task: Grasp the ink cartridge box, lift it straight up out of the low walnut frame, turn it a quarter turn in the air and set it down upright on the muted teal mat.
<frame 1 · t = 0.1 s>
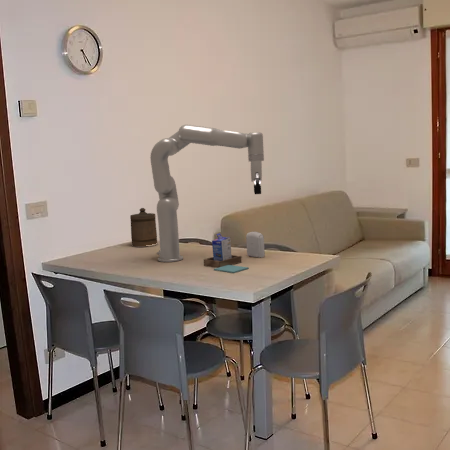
hand: (257, 193, 272), 31 cm above the table, tool pointing down, fingers open, 9 cm apart
photo printer: (255, 256, 276), on the table
teal mat: (231, 269, 248), on the table
ink cartridge box: (222, 264, 261), resting in walnut frame
walnut frame: (222, 264, 261), on the table
wooden container: (144, 245, 327), on the table
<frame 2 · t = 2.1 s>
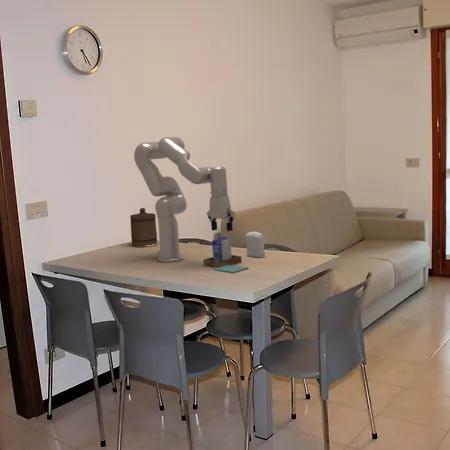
hand: (222, 230, 259), 16 cm above the table, tool pointing down, fingers open, 9 cm apart
nothing on the table moved.
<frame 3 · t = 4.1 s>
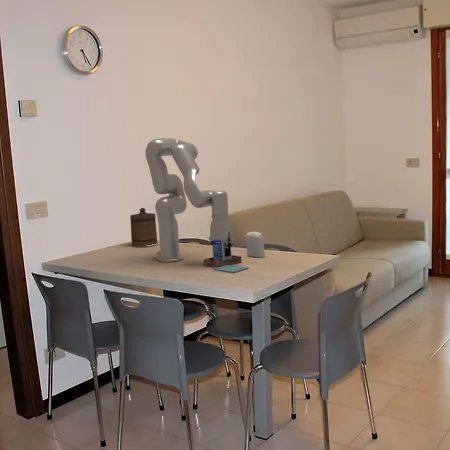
hand: (222, 255, 260), 4 cm above the table, tool pointing down, fingers closed on ink cartridge box, 6 cm apart
ink cartridge box: (222, 264, 261), resting in walnut frame, touching gripper
everything else where it was.
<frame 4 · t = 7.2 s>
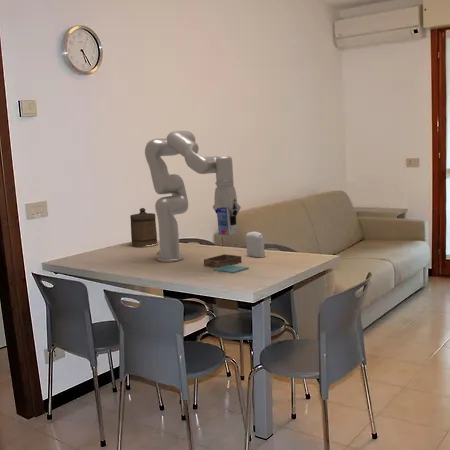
hand: (227, 224, 248), 20 cm above the table, tool pointing down, fingers closed on ink cartridge box, 6 cm apart
ink cartridge box: (227, 233, 249), point 16 cm above the table, touching gripper
everything else where it was.
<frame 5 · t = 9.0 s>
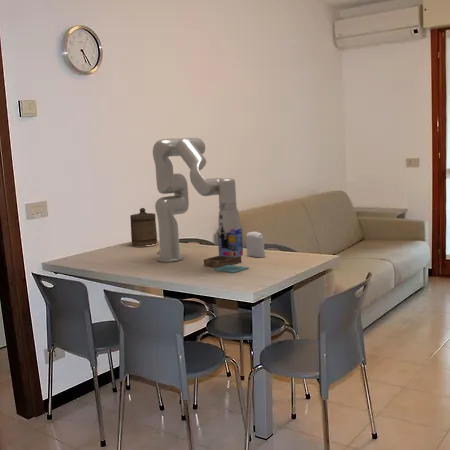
hand: (230, 246, 247), 10 cm above the table, tool pointing down, fingers closed on ink cartridge box, 6 cm apart
ink cartridge box: (230, 256, 247), point 6 cm above the table, touching gripper
everything else where it was.
when the fingers open (6 cm above the table, at t = 10.5 s): ink cartridge box stays where it is, resting on teal mat.
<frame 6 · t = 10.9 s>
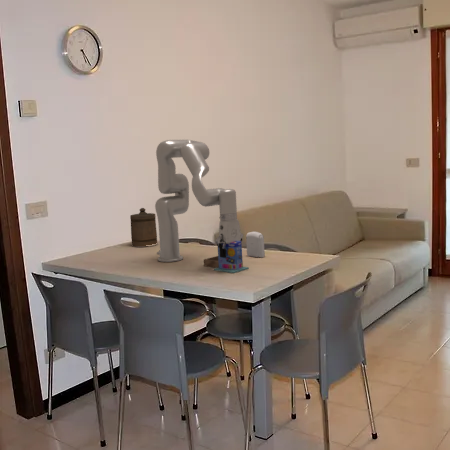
hand: (230, 255, 247), 6 cm above the table, tool pointing down, fingers open, 9 cm apart
ink cartridge box: (230, 268, 248), resting on teal mat
everything else where it was.
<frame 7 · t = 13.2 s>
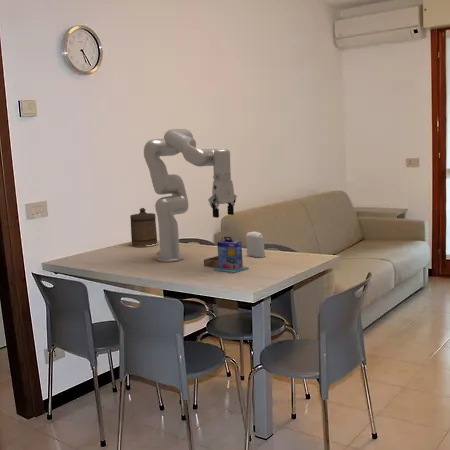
hand: (223, 216, 248), 24 cm above the table, tool pointing down, fingers open, 9 cm apart
nothing on the table moved.
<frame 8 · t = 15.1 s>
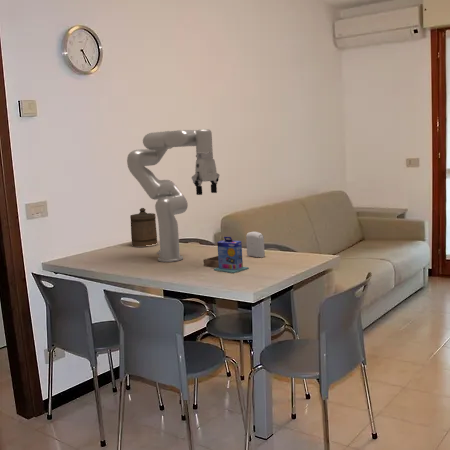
hand: (206, 193, 258), 33 cm above the table, tool pointing down, fingers open, 9 cm apart
nothing on the table moved.
at the end: ink cartridge box inside the target area on the teal mat (0.2 cm from its centre), point 0.4 cm above the teal mat's base; ink cartridge box tilted 0°; the gripper is holding nothing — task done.
